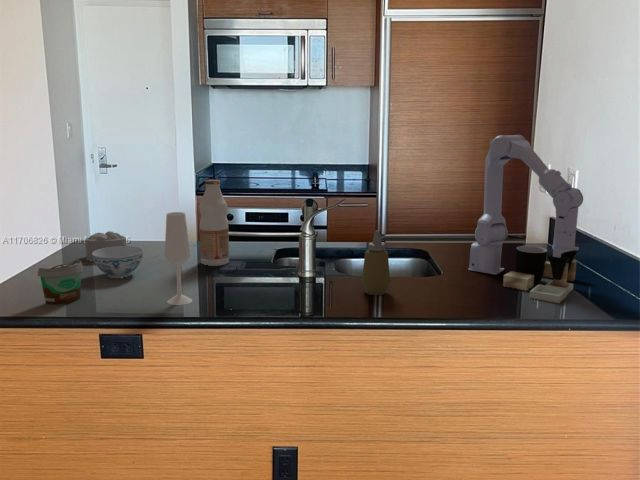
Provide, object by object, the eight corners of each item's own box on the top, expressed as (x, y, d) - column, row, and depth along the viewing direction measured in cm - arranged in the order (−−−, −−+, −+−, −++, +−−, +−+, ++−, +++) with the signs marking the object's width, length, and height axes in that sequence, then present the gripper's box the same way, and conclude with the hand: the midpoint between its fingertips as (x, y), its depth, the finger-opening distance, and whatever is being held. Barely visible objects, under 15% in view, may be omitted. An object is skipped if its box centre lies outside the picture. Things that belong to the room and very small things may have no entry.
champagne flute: (171, 297, 161) (166, 211, 156) (195, 297, 161) (191, 211, 156) (163, 304, 155) (159, 215, 150) (189, 305, 155) (185, 216, 149)
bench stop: (516, 272, 189) (518, 254, 188) (519, 270, 192) (521, 252, 190) (572, 281, 179) (574, 262, 178) (574, 279, 182) (576, 260, 181)
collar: (545, 289, 171) (545, 285, 170) (551, 285, 176) (551, 280, 175) (567, 293, 167) (568, 288, 167) (573, 288, 172) (573, 283, 172)
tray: (529, 297, 163) (529, 290, 163) (537, 290, 170) (538, 284, 169) (559, 303, 159) (559, 296, 158) (566, 296, 165) (567, 289, 165)
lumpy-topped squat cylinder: (95, 254, 209) (94, 230, 207) (131, 254, 208) (130, 230, 206) (83, 261, 198) (81, 236, 197) (121, 261, 198) (119, 237, 196)
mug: (547, 286, 175) (551, 253, 172) (517, 285, 175) (520, 252, 173) (537, 275, 186) (540, 244, 184) (508, 274, 187) (510, 243, 185)
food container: (54, 309, 151) (51, 271, 149) (40, 304, 154) (36, 268, 152) (95, 296, 161) (92, 261, 159) (81, 292, 164) (78, 258, 162)
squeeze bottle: (392, 290, 169) (394, 229, 165) (386, 298, 162) (388, 234, 158) (365, 287, 172) (366, 227, 168) (357, 295, 164) (359, 232, 160)
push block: (502, 286, 174) (503, 275, 174) (510, 282, 179) (511, 271, 178) (526, 291, 170) (527, 279, 169) (533, 286, 175) (534, 275, 174)
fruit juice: (201, 267, 192) (198, 182, 186) (200, 260, 201) (197, 178, 195) (230, 265, 194) (228, 181, 188) (228, 258, 203) (226, 178, 197)
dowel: (551, 289, 171) (553, 263, 169) (554, 286, 174) (557, 260, 172) (563, 292, 169) (566, 265, 167) (567, 289, 172) (569, 262, 170)
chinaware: (105, 285, 171) (103, 260, 170) (86, 274, 182) (84, 250, 181) (153, 276, 181) (151, 252, 179) (132, 266, 192) (131, 243, 190)
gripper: (573, 236, 160) (568, 284, 162) (586, 228, 171) (581, 273, 174) (546, 233, 164) (542, 280, 167) (560, 225, 175) (556, 269, 178)
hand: (560, 276), depth 171 cm, fingers open, 7 cm apart
